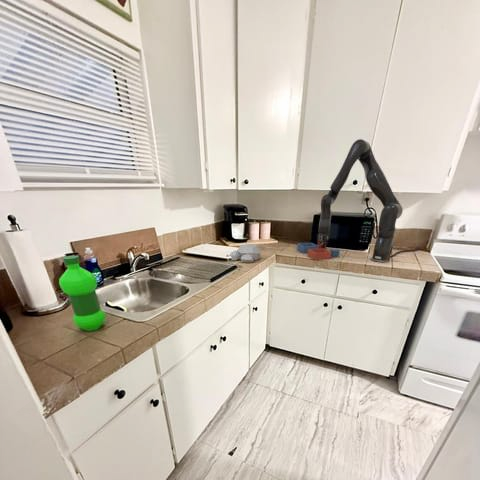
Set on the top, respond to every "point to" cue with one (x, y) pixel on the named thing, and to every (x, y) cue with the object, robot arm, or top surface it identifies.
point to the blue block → (334, 252)
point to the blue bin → (306, 247)
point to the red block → (321, 245)
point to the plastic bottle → (82, 294)
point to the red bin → (319, 254)
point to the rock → (246, 253)
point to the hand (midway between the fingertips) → (321, 249)
